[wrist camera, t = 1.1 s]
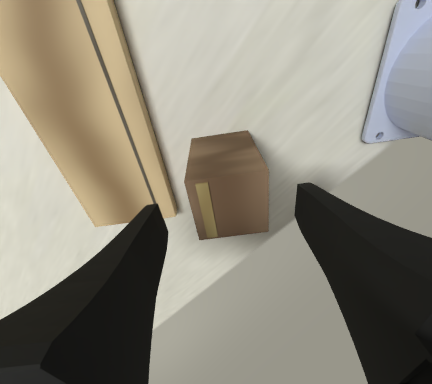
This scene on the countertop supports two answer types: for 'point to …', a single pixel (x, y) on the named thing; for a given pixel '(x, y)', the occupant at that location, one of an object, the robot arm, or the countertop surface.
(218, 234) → the block
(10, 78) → the oak board
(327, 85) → the countertop surface
